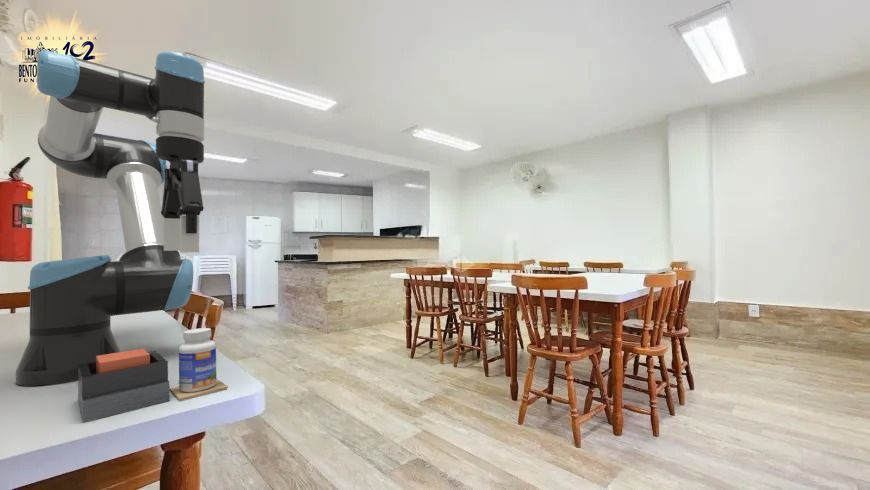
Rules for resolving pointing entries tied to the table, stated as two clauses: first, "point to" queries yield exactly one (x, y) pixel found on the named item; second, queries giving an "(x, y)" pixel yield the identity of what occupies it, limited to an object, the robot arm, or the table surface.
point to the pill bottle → (197, 361)
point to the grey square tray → (122, 388)
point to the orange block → (122, 360)
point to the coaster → (188, 395)
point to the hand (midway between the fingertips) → (180, 251)
